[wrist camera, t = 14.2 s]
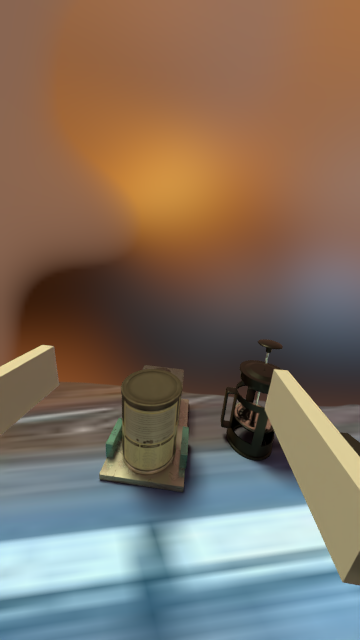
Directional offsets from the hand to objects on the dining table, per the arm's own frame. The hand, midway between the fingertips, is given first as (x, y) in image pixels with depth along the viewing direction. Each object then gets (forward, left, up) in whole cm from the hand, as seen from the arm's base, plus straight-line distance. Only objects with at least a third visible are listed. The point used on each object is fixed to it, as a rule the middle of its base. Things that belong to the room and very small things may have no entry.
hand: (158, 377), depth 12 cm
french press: (-16, -24, -29) cm, 41 cm away
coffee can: (+4, -18, -28) cm, 34 cm away
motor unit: (+4, -22, -29) cm, 37 cm away
